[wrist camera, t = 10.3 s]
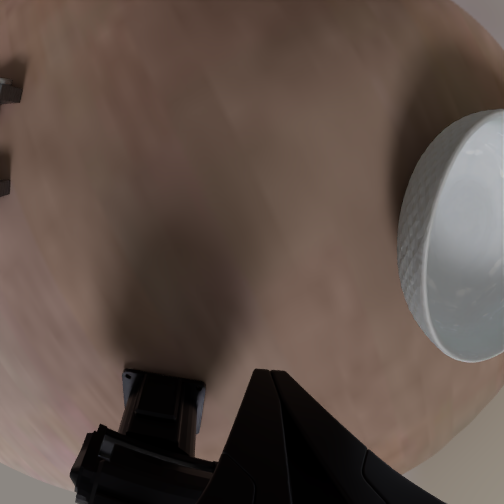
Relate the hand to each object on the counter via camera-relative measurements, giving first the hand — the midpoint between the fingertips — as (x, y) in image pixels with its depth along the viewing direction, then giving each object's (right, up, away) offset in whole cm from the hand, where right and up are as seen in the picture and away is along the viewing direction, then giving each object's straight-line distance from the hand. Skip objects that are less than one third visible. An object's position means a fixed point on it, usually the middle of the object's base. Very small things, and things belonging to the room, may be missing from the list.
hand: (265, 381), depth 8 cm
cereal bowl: (+16, +6, +12) cm, 21 cm away
